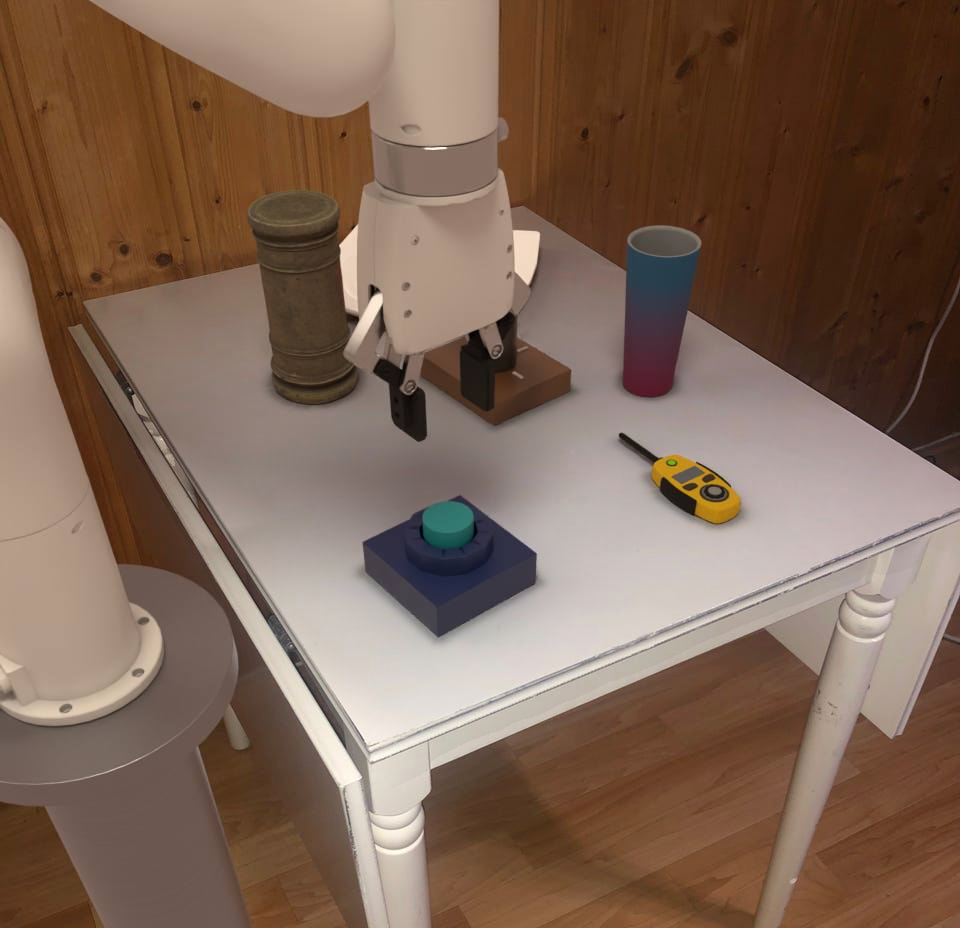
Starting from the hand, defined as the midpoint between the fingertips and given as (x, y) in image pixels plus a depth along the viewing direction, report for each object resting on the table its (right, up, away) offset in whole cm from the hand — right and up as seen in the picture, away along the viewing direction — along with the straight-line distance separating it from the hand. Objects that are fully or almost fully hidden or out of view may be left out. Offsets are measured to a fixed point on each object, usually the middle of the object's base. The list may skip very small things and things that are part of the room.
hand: (444, 415), depth 75 cm
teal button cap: (0, -8, +8) cm, 11 cm away
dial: (+4, +12, +31) cm, 33 cm away
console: (+4, +10, +32) cm, 34 cm away
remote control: (+20, -2, +21) cm, 29 cm away
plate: (-4, +26, +48) cm, 55 cm away
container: (-14, +10, +33) cm, 37 cm away
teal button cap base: (0, -11, +11) cm, 15 cm away
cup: (+20, +10, +32) cm, 39 cm away
